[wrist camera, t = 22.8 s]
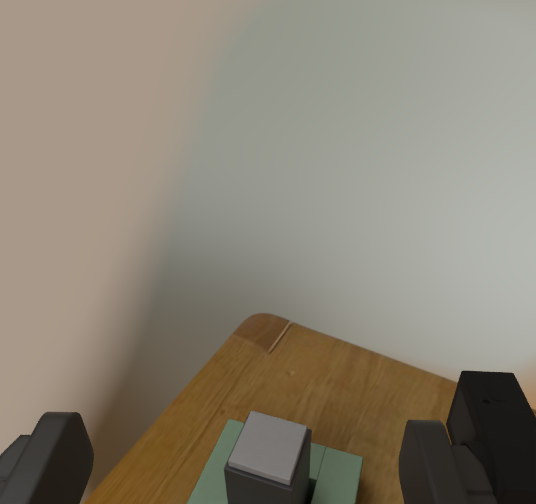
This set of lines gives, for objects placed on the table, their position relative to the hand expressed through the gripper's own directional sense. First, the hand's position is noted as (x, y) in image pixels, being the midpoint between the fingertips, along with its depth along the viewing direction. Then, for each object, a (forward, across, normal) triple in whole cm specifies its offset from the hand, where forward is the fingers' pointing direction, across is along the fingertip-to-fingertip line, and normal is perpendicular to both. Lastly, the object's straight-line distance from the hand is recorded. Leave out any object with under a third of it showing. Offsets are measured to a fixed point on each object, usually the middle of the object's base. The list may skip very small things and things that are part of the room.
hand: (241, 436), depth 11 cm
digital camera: (+15, -17, +26) cm, 35 cm away
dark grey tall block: (+11, 0, +26) cm, 28 cm away
